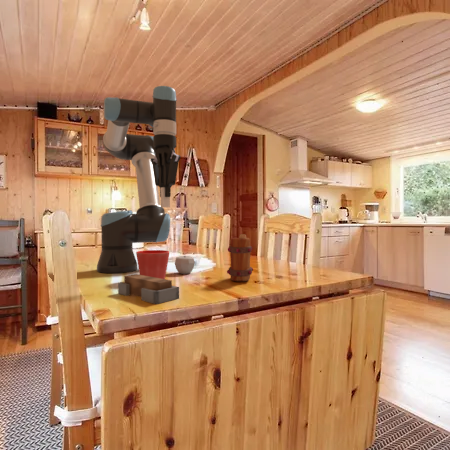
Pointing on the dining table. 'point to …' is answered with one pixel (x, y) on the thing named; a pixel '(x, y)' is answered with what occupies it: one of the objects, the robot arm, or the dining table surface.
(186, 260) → the apple
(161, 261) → the flower pot
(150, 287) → the brown rectangular block
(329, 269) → the dining table surface
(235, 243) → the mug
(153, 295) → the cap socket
